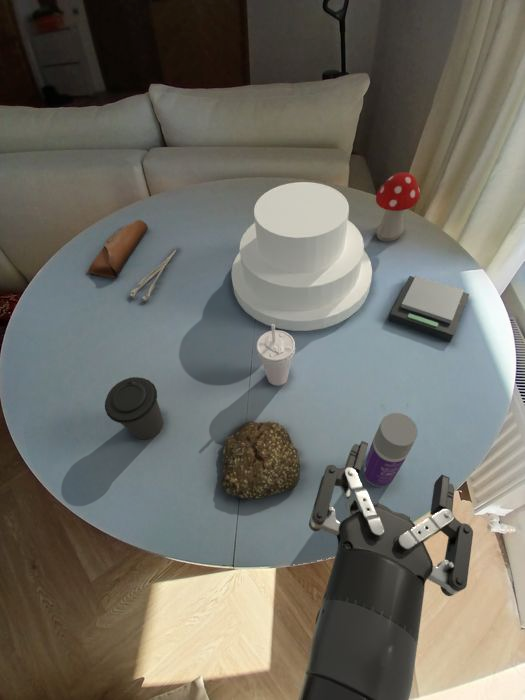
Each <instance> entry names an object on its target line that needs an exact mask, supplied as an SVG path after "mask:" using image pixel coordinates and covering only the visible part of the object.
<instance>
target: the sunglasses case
mask: <svg viewBox="0 0 525 700" xmlns="http://www.w3.org/2000/svg"><path fill="white" fill-rule="evenodd" d="M148 229H149V227H148V224H147V223H146V222H145V221H144V220H142V219H137V220H135V221H133V222H130V223H129V224H128V225H125V226H124V227H121V228H119V229H117V230H115V232H114V233H113V234H112V235H111V236H110V237H109V238H108V239H107V240H106V242H104V244H103V248H101V250H100V251H99V252H98V254H97V255H96V257H95V258H94V259H93V261H92V262H91V264H90V265H89V268H88V269H87V272H88V273H89V274H91V275H95V276H99V277H104V278H110V279H116V278H117V276H118V275H120V273H121V271H122V269H123V268H124V266H125V264H126V262H127V261H128V259H129V257H130V255H132V253H133V251H134V250H135V249H136V247H137V245H138V244H139V243H140V241H141V239H142V238H143V237H144V235H145V234H146V232H147V231H148Z"/></svg>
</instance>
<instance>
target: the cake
mask: <svg viewBox="0 0 525 700" xmlns="http://www.w3.org/2000/svg"><path fill="white" fill-rule="evenodd" d="M253 214H254V216H253V217H254V222H253V223H252V224H251V225H250V226H249V227H248V228H247V229H246V231H245V232H244V233H243V235H242V237H241V239H240V242H239V252H238V253H237V255H236V256H235V259H234V261H233V263H232V267H231V274H230V275H231V280H232V287H233V293H234V296H235V298H236V300H237V303H238V304H239V305H240V307H241V308H242V310H244V312H245V313H247V314H248V315H249V316H251V318H253V319H254V320H256V321H258V322H261V323H262V324H264V325H266V326H269V327H271V324H275V329H279V330H286V331H292V332H310V331H316V330H322V329H326V328H329V327H332V326H336V325H338V324H340V323H341V322H344V321H345V320H347V319H349V318H350V317H351V316H353V315H354V314H355V313H356V312H358V311H359V310H360V308H361V307H362V306H363V305H364V303H365V302H366V299H367V297H368V295H369V292H370V288H371V283H372V277H373V268H372V263H371V259H370V258H369V255H368V253H367V252H366V251H365V249H364V248H365V244H364V237H363V236H362V233H361V232H360V230H359V229H358V227H356V225H355V224H354V223H353V222H351V221H350V220H349V214H350V206H349V202H348V200H347V197H345V196H344V194H343V193H341V192H340V191H338V189H335V188H333V187H332V186H329V185H326V184H323V183H319V182H318V183H316V182H310V181H309V182H308V181H299V182H297V181H295V182H290V183H284V184H281V185H278V186H276V187H273V188H271V189H269V190H268V191H266V192H264V194H262V195H260V197H259V198H258V199H257V201H256V203H255V204H254V209H253Z"/></svg>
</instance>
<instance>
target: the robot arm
mask: <svg viewBox="0 0 525 700" xmlns="http://www.w3.org/2000/svg"><path fill="white" fill-rule="evenodd" d="M368 446H369V443H368V442H366V441H363V440H361V441H360V443H359V444H357V443H355V444H354V445H353V446H352V447H351V449H350V451H349V453H348V456H347V459H346V463H345V466H344V467H341V468H338V467H337V466H335V465H334V464H329V465H327V466H326V468H325V470H324V473H323V475H322V477H321V479H320V483H319V486H318V490H317V493H316V497H315V499H314V500H315V501H314V504H313V507H312V511H311V514H310V518H309V521H308V527H309V529H310V530H311V531H313V532H319V531H320V530H322V531H325V532H327V533H329V534H332V535H335V536H336V539H337V550H336V554H335V557H334V559H333V563H332V567H331V571H330V573H329V574H330V575H329V579H328V581H327V585H326V588H325V592H324V594H323V597H322V598H323V599H322V602H321V606H320V608H319V610H318V611H317V614H316V618H315V626H314V630H313V633H312V637H311V642H310V647H309V653H308V661H307V666H306V669H305V675H304V678H303V681H302V685H301V688H300V692H299V696H298V699H297V700H410V696H411V692H412V689H413V681H414V674H415V667H416V658H417V652H418V651H417V650H418V644H419V635H420V626H421V619H422V611H423V603H424V596H425V585H426V582H427V580H428V581H430V582H432V583H434V584H436V585H437V586H439V587H440V590H441V592H442V594H444V595H445V596H447V597H452V596H454V595H456V594H457V593H459V592H461V591H463V590H465V589H466V588H467V587H468V577H469V570H470V563H471V562H470V561H471V553H472V545H473V536H474V530H473V528H472V527H471V526H470V525H469V524H468V523H465V522H464V523H462V522H460V521H459V520H458V519H457V518H456V517H455V515H454V513H453V508H454V497H455V488H454V484H452V483H450V476H446V475H444V474H441V475H440V476H439V477H438V478H437V479H436V481H435V482H434V483H433V484H434V485H433V492H432V498H431V506H430V515H431V516H429V517H427V518H426V519H424V520H422V521H421V522H419V523H418V524H415V523H414V522H413V521H412V520H411V517H410V516H409V515H406V514H405V513H401V512H396V511H393V510H392V509H390V508H389V507H388V506H386V505H384V504H382V503H380V502H377V503H375V504H374V503H373V502H372V500H371V497H370V495H369V492H368V490H367V488H366V487H363V484H362V481H361V480H360V476H359V474H360V472H361V470H362V468H363V464H364V461H365V458H366V457H365V456H366V453H367V449H368ZM335 487H340V489H341V492H342V495H343V497H344V501H345V507H346V510H347V513H348V517H345V518H344V519H343V520H342V521H339V520H338V519H337V516H336V513H337V512H336V509H335V508H334V507H333V506H332V505H331V501H332V498H333V495H334V494H333V493H334V489H335ZM439 532H441V533H443V534H444V535H445V536H446V537H448V538H447V542H446V550H445V556H444V559H443V560H441V561H440V562H439V563H438V564H437V565H436V566H435V565H434V564H433V560H432V558H431V555H430V553H429V551H428V549H427V547H426V545H425V542H428V540H429V539H431V538H432V537H433V536H435V535H437V534H439Z"/></svg>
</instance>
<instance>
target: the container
mask: <svg viewBox="0 0 525 700" xmlns="http://www.w3.org/2000/svg"><path fill="white" fill-rule="evenodd" d="M418 431H419V430H418V427H417V425H416V423H415V421H414V420H413V419H412V418H411V417H410V416H408V415H406V414H404V413H401V412H392V413H388V414H386V415H385V416H383V418H382V419H381V421H380V424H379V425H378V428H377V430H376V432H375V435H374V436H373V439H372V442H371V445H370V447H369V450H368V453H367V456H366V457H365V459H364V462H363V465H362V474H363V477H364V479H365V481H366V482H367V483H368V484H370V485H371V486H373V487H376V488H385V487H387V486H389V485H390V484H392V482H393V481H394V479H395V477H397V474H398V472H399V471H400V469H401V467H402V466H403V464H404V462H405V460H406V458H407V457H408V456H409V453H410V451H411V450H412V447H413V446H414V443H415V441H417V437H418Z"/></svg>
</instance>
